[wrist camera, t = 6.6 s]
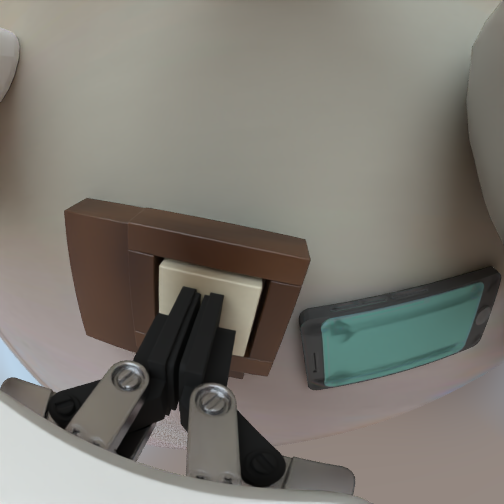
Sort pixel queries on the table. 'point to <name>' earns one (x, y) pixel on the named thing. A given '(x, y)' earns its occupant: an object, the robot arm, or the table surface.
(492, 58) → the sphere
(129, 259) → the key block
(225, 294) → the cream square block
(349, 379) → the smartphone
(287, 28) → the table surface
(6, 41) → the coffee cup
